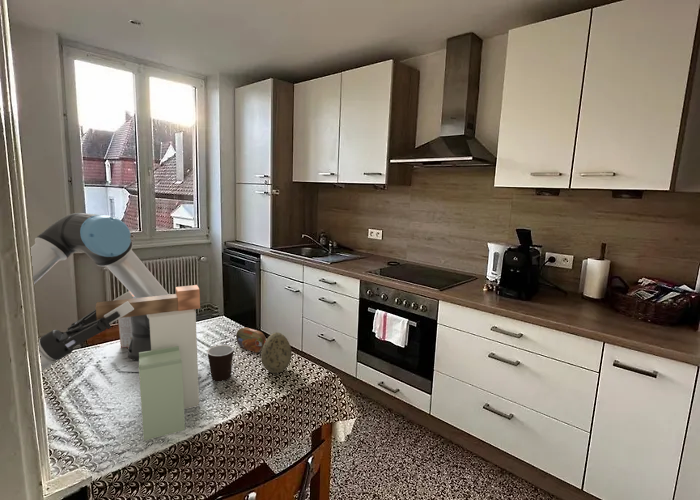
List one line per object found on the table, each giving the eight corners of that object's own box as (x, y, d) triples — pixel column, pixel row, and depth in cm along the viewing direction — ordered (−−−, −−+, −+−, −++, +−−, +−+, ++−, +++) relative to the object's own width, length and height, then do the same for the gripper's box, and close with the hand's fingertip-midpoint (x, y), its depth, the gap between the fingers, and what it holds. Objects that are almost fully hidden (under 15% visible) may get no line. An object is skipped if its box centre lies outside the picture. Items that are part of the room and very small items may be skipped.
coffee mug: (226, 384, 128) (225, 357, 126) (203, 381, 130) (202, 354, 128) (242, 368, 139) (242, 343, 138) (221, 365, 141) (220, 340, 139)
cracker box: (135, 334, 166) (132, 288, 162) (149, 334, 166) (147, 288, 163) (119, 348, 152) (115, 298, 148) (134, 348, 153) (131, 298, 149)
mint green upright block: (143, 440, 100) (138, 366, 96) (143, 421, 108) (138, 352, 104) (184, 430, 105) (181, 359, 101) (181, 412, 113) (178, 346, 109)
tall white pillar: (155, 415, 111) (149, 317, 105) (154, 398, 119) (148, 306, 114) (199, 405, 116) (195, 312, 111) (195, 389, 125) (191, 302, 119)
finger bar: (96, 321, 101) (94, 300, 100) (97, 315, 105) (96, 294, 104) (200, 308, 114) (199, 289, 113) (197, 303, 118) (196, 284, 117)
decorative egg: (284, 381, 132) (284, 340, 129) (256, 376, 134) (255, 336, 132) (295, 366, 142) (296, 329, 140) (268, 362, 145) (268, 325, 142)
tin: (235, 345, 158) (235, 326, 157) (241, 343, 161) (241, 324, 160) (262, 355, 151) (261, 335, 149) (267, 352, 153) (267, 332, 152)
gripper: (66, 343, 110) (139, 298, 118) (50, 379, 91) (139, 323, 99) (47, 324, 108) (124, 279, 115) (27, 356, 89) (120, 301, 96)
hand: (131, 299), depth 107 cm, fingers open, 9 cm apart
